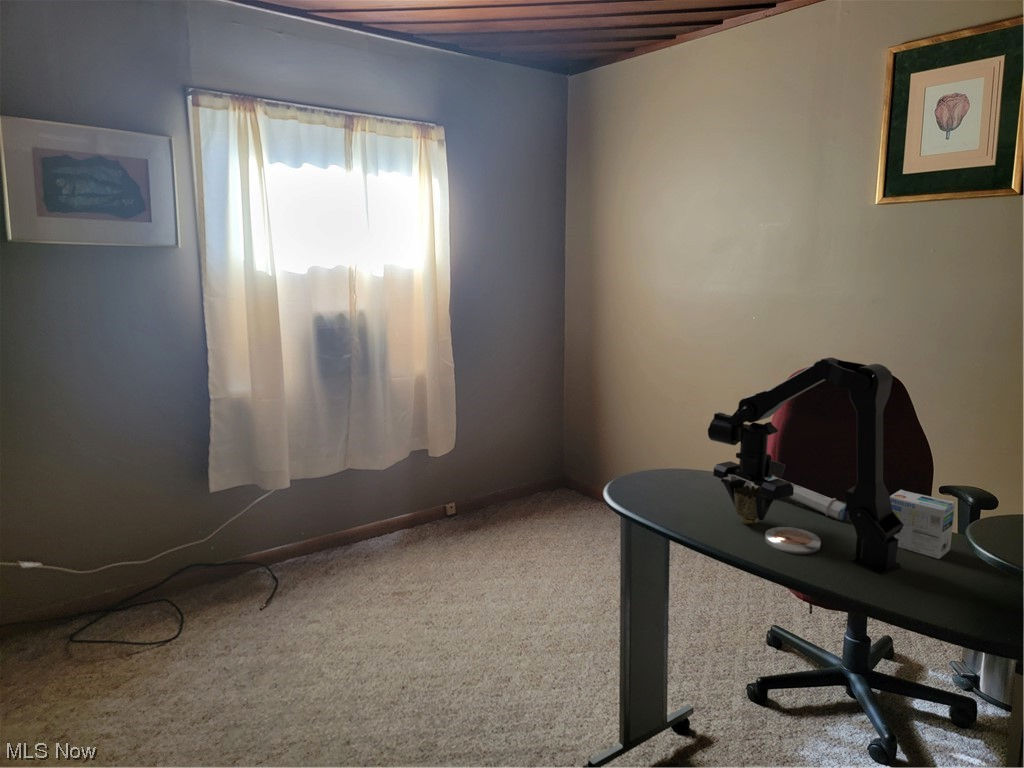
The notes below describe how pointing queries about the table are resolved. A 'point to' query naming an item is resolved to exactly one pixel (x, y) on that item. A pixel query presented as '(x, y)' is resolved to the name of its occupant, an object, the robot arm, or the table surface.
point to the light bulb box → (923, 523)
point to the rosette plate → (792, 540)
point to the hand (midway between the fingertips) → (749, 514)
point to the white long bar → (817, 501)
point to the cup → (747, 504)
